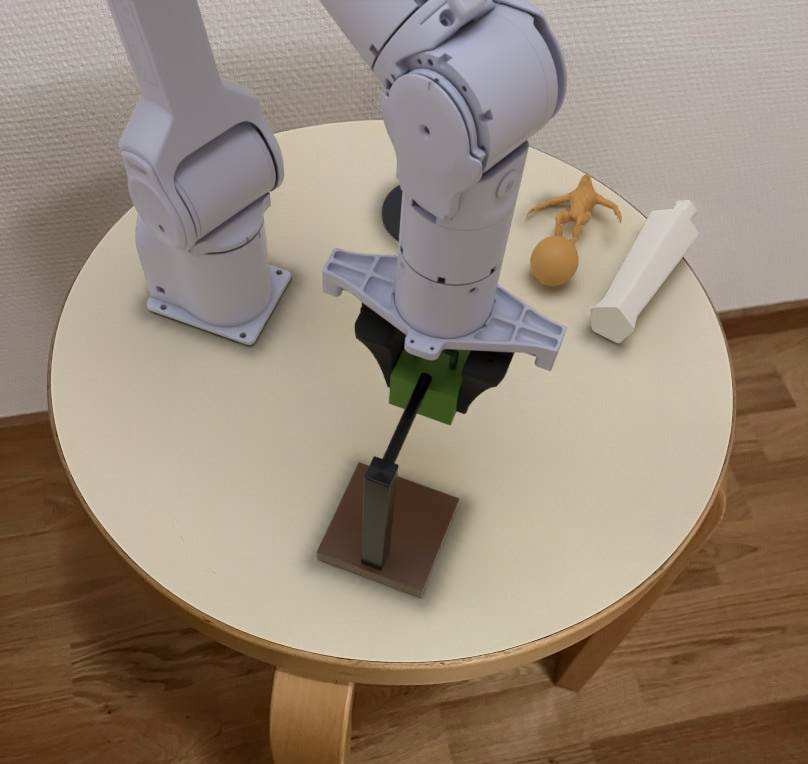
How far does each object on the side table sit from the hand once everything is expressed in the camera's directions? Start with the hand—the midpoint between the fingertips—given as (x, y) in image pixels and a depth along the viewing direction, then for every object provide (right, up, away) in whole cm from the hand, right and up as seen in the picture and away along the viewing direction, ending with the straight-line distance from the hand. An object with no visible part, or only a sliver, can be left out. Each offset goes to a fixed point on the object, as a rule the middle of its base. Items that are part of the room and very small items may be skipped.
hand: (430, 389), depth 60 cm
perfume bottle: (+15, +7, +12) cm, 21 cm away
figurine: (+10, +11, +15) cm, 21 cm away
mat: (0, +18, +19) cm, 26 cm away
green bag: (0, 0, 0) cm, 0 cm away
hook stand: (-3, -10, +6) cm, 11 cm away
